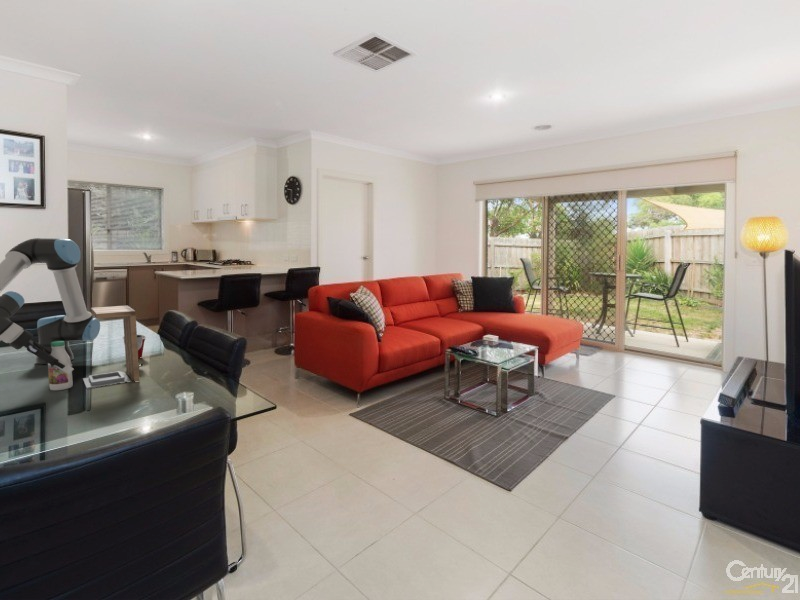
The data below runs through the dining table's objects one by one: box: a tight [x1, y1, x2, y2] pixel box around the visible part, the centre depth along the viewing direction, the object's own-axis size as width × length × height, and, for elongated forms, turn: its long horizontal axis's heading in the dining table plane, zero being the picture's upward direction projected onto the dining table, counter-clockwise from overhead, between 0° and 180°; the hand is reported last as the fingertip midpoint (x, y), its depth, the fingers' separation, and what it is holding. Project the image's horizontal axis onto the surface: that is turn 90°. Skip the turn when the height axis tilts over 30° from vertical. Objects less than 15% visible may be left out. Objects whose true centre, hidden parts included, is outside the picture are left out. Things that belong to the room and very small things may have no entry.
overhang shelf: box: [90, 305, 140, 382], centre depth 193 cm, size 20×14×32 cm
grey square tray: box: [82, 370, 132, 390], centre depth 193 cm, size 16×16×2 cm
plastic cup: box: [122, 334, 147, 359], centre depth 229 cm, size 11×11×12 cm
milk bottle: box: [47, 341, 74, 391], centre depth 181 cm, size 8×8×20 cm
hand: (70, 369), depth 184 cm, fingers closed on milk bottle, 7 cm apart
